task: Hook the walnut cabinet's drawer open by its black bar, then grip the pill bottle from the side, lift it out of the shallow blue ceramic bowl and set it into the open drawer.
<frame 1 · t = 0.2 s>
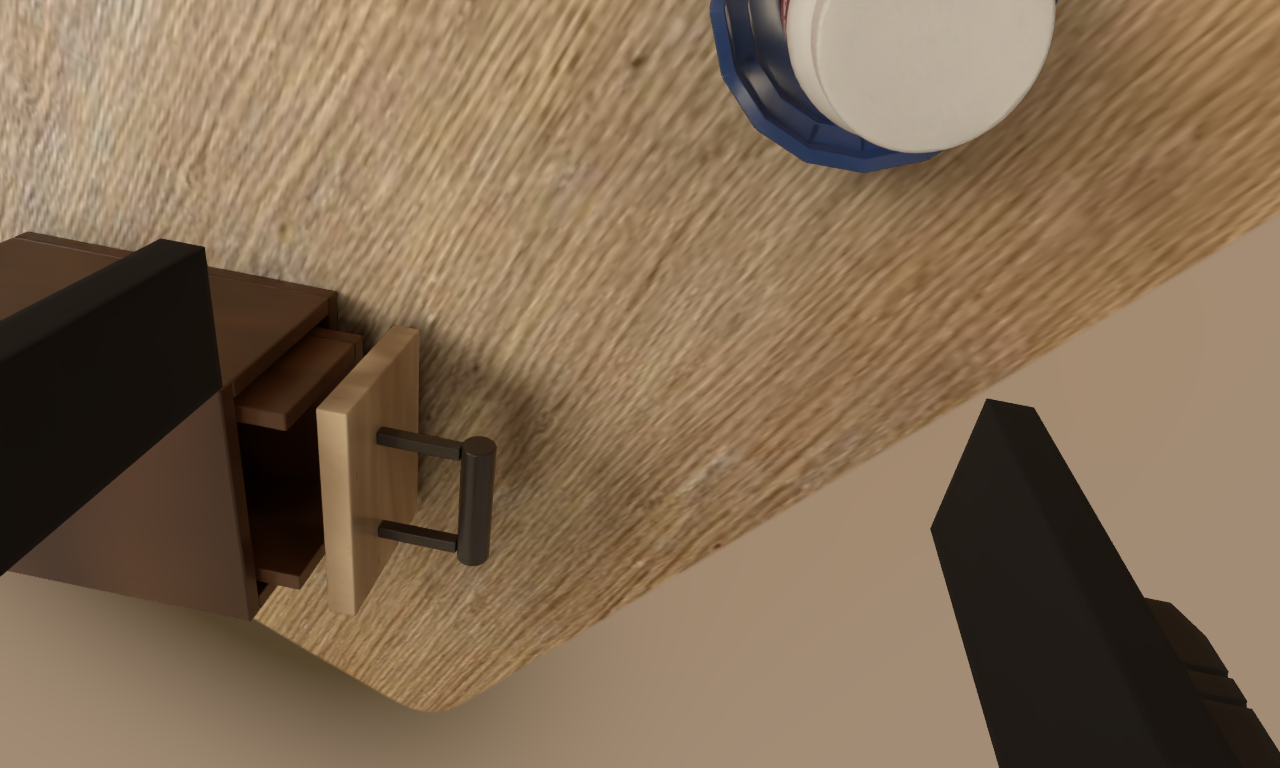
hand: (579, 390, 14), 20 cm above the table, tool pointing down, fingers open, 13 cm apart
cabinet: (197, 371, 39), on the table
drawer: (292, 451, 35), point 5 cm above the table, slide at 3.0 cm
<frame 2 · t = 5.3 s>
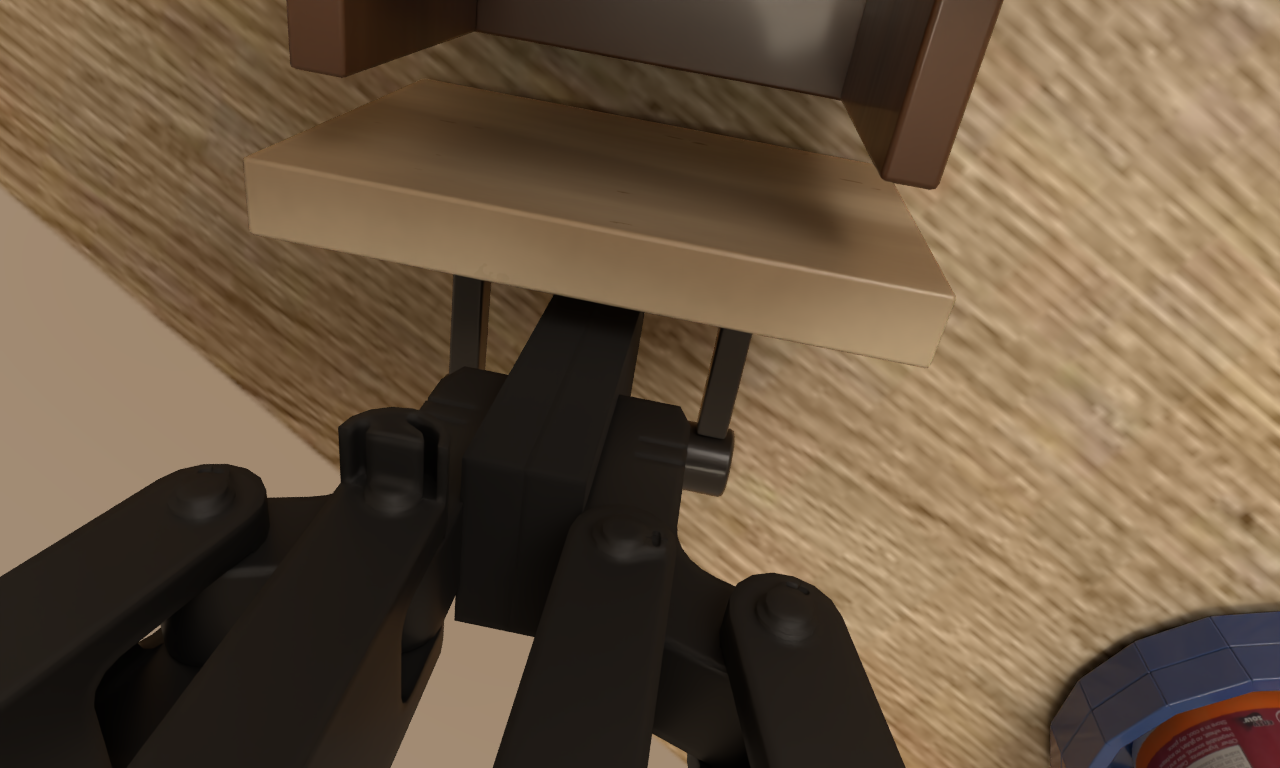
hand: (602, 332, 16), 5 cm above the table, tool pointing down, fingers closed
bowl: (1226, 728, 25), on the table
pill bottle: (1228, 731, 25), resting on bowl
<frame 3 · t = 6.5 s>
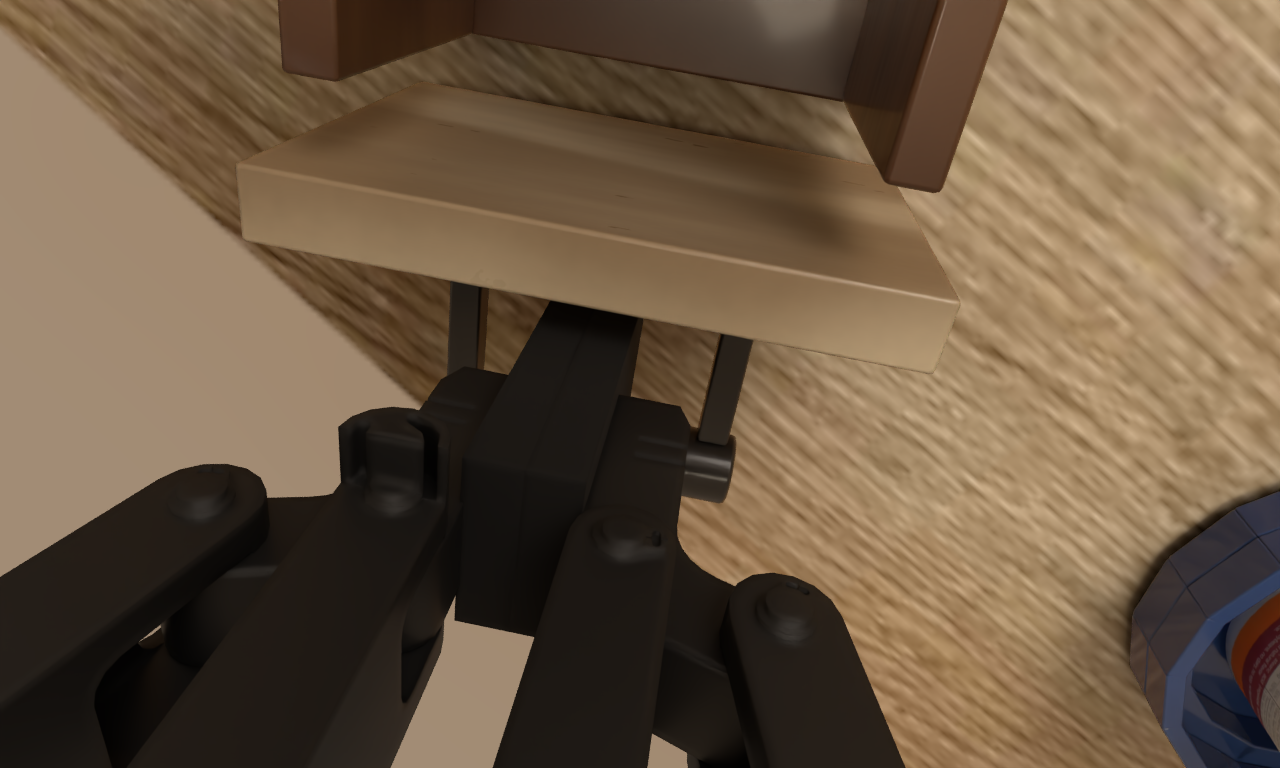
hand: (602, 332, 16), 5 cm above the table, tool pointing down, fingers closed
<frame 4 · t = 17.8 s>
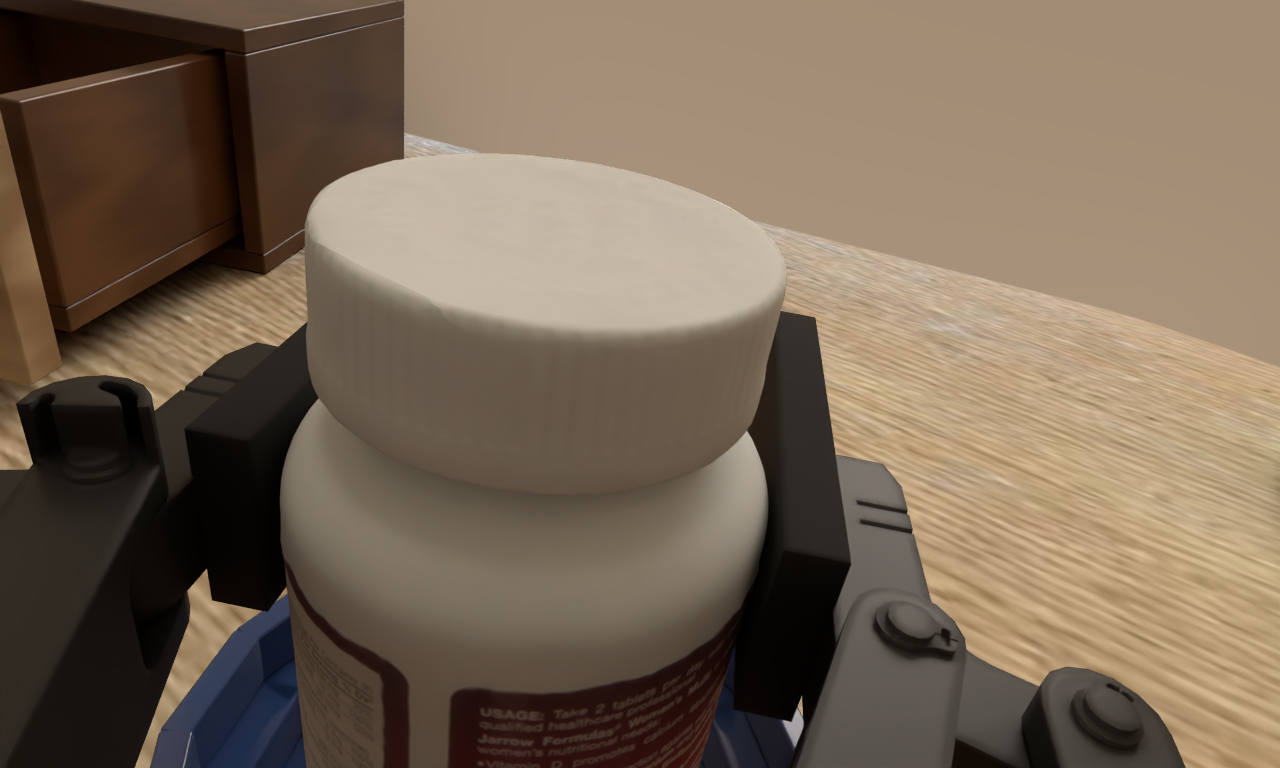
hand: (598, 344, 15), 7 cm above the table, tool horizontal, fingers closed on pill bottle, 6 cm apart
cabinet: (229, 195, 39), on the table
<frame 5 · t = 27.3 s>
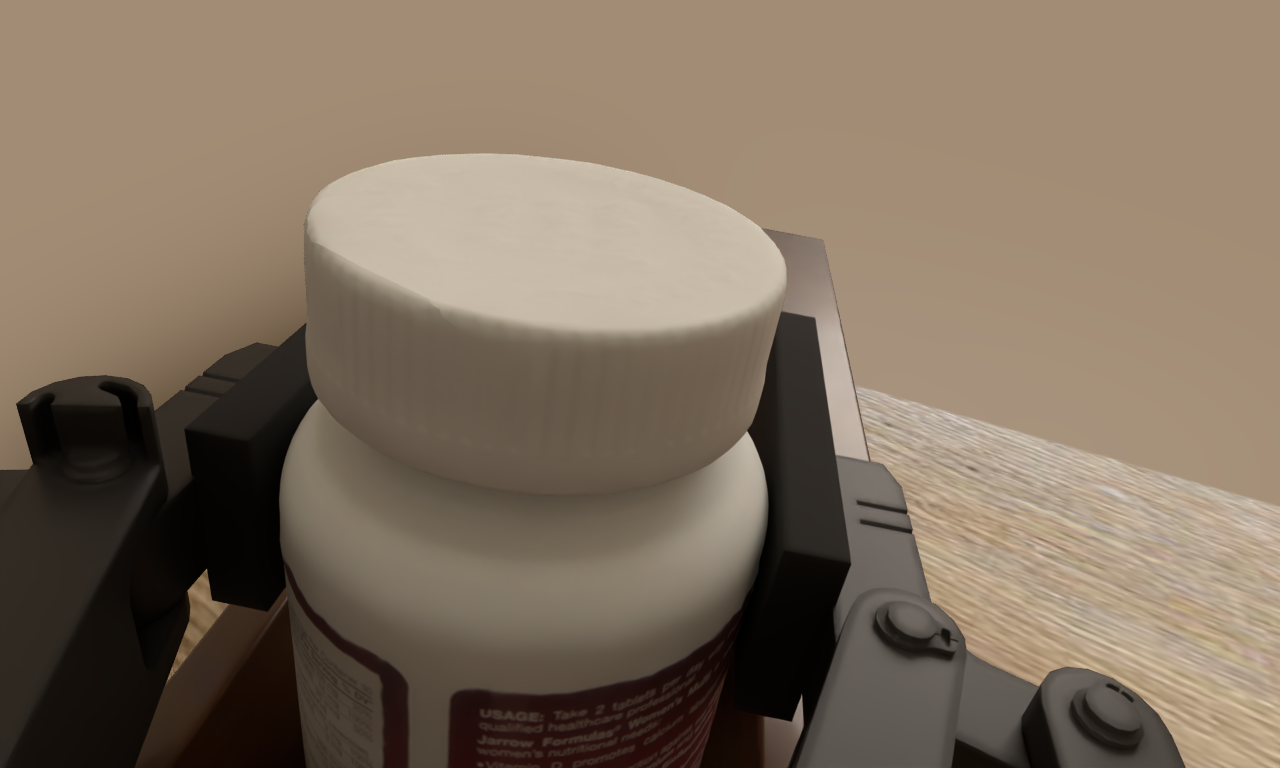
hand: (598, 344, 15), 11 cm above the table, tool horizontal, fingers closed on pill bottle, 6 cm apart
cabinet: (594, 538, 27), on the table
when the fingers open (12 cm above the table, at t = 36.7 s): pill bottle drops 2 cm, resting on drawer.
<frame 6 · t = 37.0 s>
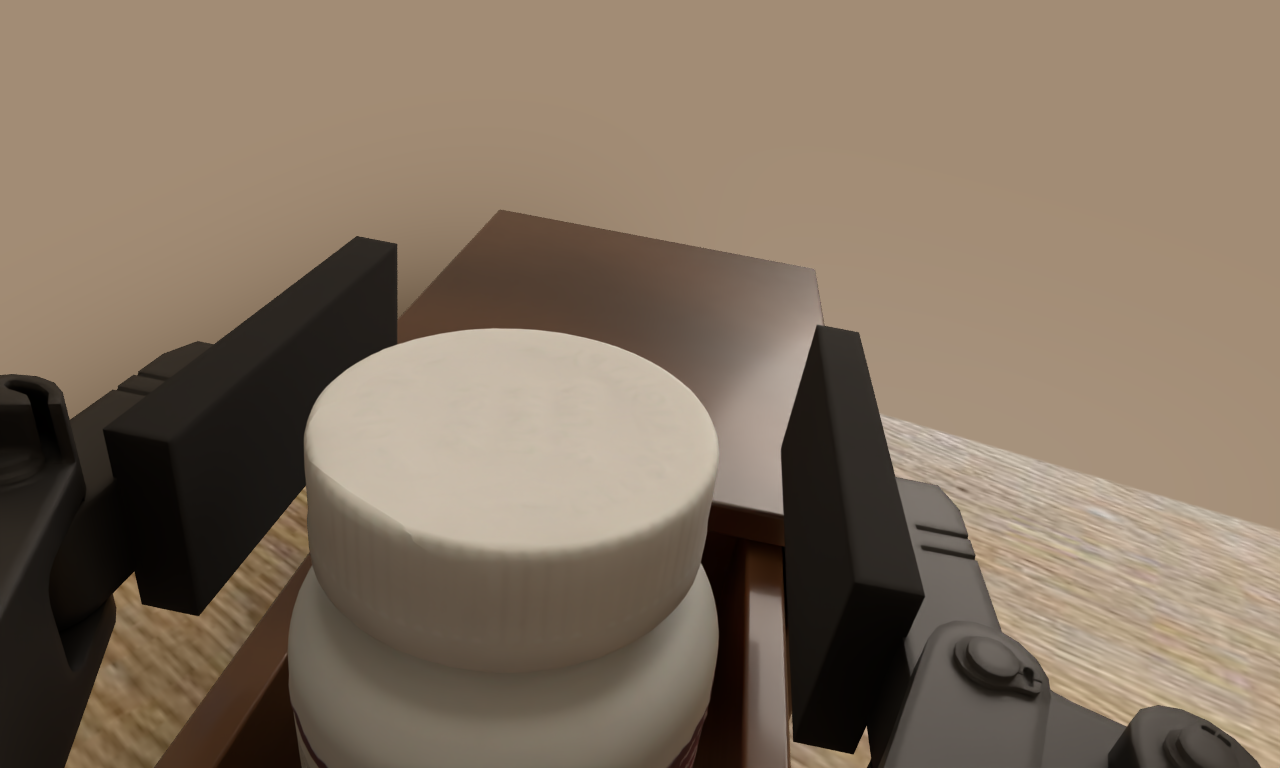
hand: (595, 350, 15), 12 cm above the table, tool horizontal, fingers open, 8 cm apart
cabinet: (589, 563, 27), on the table
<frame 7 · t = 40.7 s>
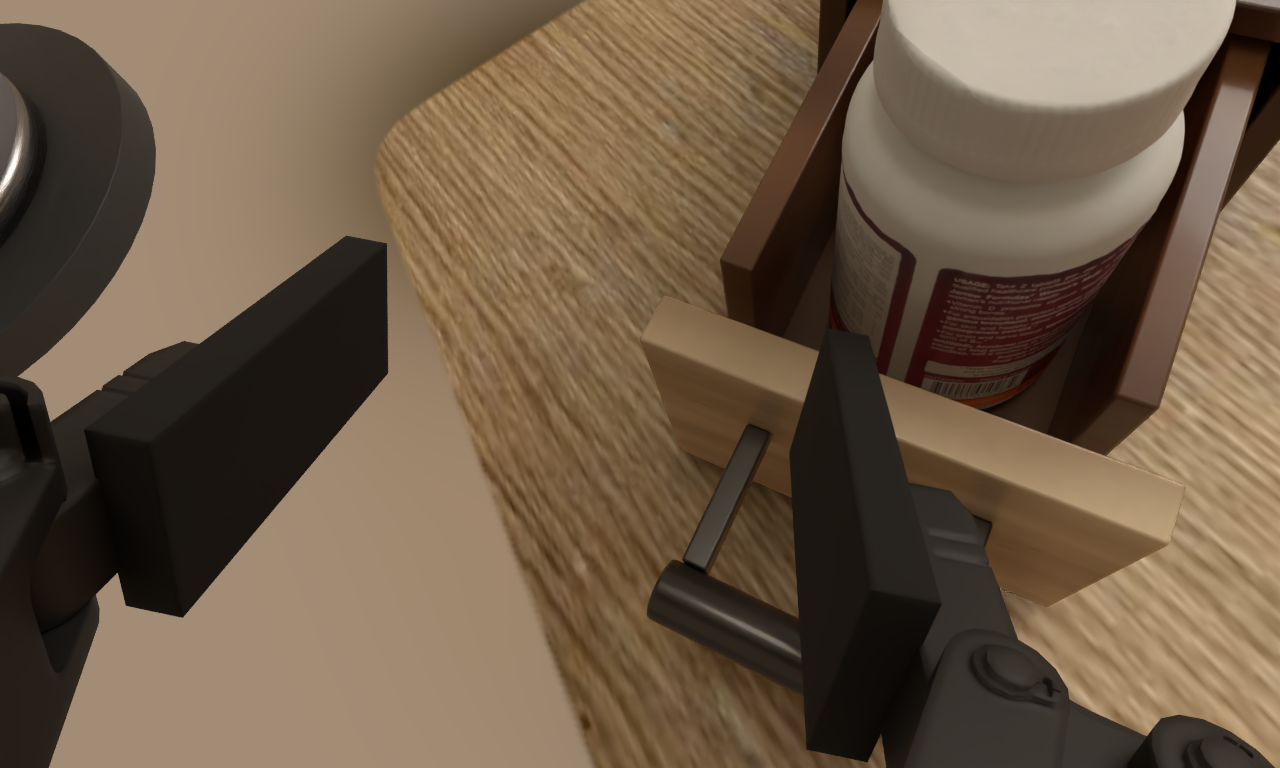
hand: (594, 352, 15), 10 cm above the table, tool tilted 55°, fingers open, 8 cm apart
cabinet: (1049, 50, 28), on the table
pill bottle: (937, 322, 23), point 2 cm above the table, touching drawer
drawer: (924, 332, 20), point 5 cm above the table, slide at 10.3 cm, touching pill bottle
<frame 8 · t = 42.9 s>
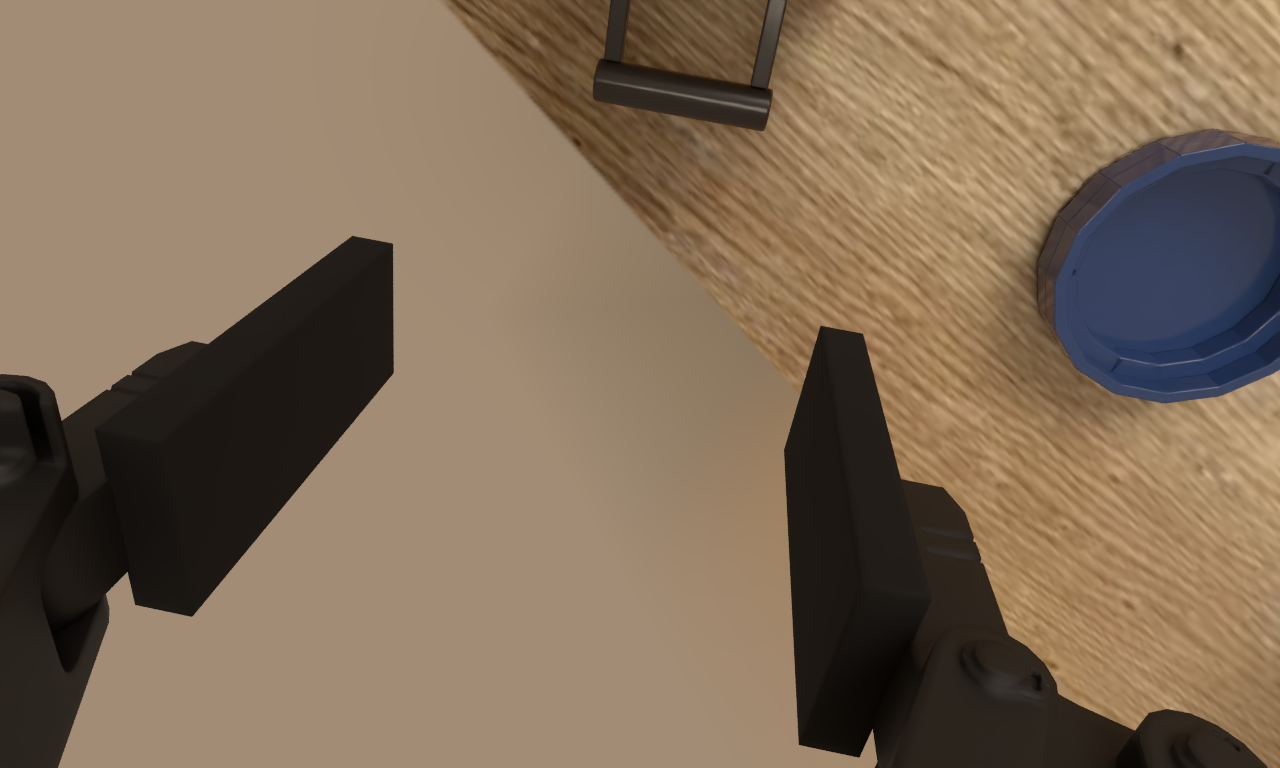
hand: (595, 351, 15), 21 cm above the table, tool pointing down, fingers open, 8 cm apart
bowl: (1172, 260, 33), on the table
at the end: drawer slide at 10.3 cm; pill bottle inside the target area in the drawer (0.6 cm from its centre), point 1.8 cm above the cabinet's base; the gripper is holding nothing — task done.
